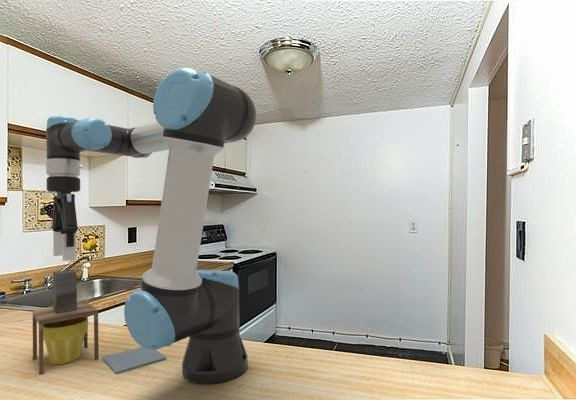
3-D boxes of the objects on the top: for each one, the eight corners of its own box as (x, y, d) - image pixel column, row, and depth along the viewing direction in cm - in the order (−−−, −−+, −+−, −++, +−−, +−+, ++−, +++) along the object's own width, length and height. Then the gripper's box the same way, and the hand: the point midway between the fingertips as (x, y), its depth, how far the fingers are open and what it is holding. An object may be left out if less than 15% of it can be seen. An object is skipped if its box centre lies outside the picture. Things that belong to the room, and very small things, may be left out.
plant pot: (72, 367, 88) (72, 327, 89) (31, 368, 88) (30, 327, 89) (96, 351, 99) (95, 314, 99) (58, 351, 99) (58, 315, 99)
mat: (166, 359, 92) (166, 357, 92) (116, 374, 84) (116, 371, 84) (149, 346, 101) (149, 344, 101) (102, 359, 93) (102, 357, 93)
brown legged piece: (98, 359, 93) (97, 271, 94) (39, 374, 85) (38, 278, 85) (87, 346, 102) (86, 266, 103) (32, 359, 94) (32, 272, 95)
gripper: (91, 173, 88) (91, 260, 88) (70, 180, 107) (70, 252, 106) (55, 171, 83) (55, 264, 83) (40, 179, 102) (40, 255, 101)
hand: (64, 257), depth 95 cm, fingers open, 13 cm apart
